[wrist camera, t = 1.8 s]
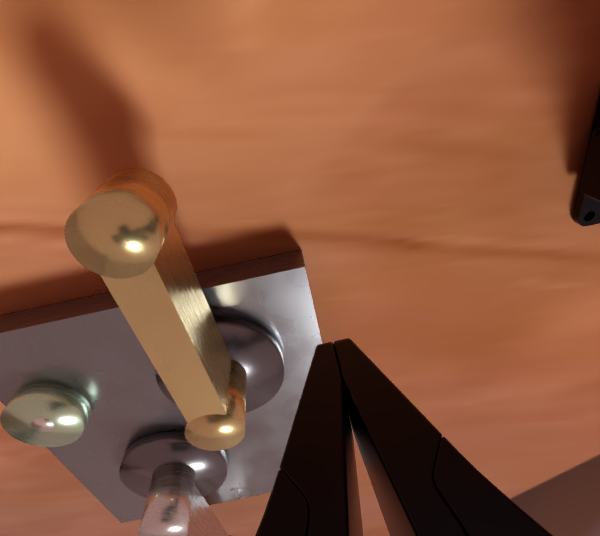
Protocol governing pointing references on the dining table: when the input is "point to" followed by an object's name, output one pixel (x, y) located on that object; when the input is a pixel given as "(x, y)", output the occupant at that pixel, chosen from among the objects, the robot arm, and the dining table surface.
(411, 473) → the robot arm
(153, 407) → the plate
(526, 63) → the dining table surface
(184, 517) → the silver lever handle
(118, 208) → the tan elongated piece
